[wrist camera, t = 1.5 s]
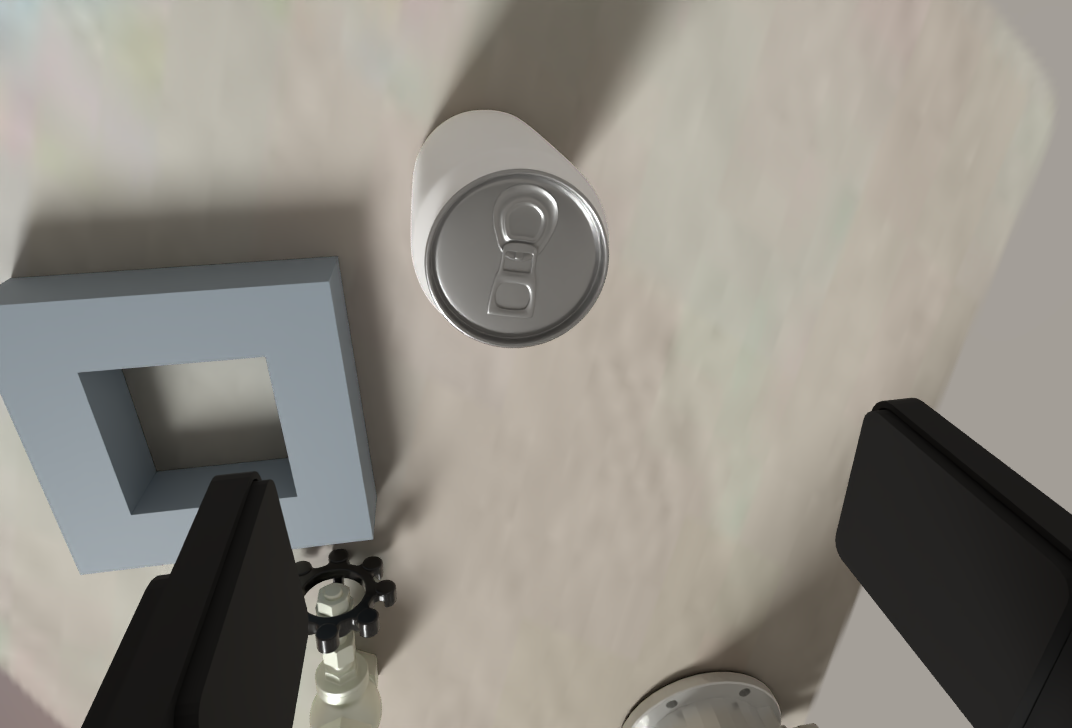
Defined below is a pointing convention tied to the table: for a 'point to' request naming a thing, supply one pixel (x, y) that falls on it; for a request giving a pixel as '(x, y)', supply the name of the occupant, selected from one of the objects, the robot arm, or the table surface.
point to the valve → (345, 641)
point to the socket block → (176, 338)
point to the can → (505, 231)
